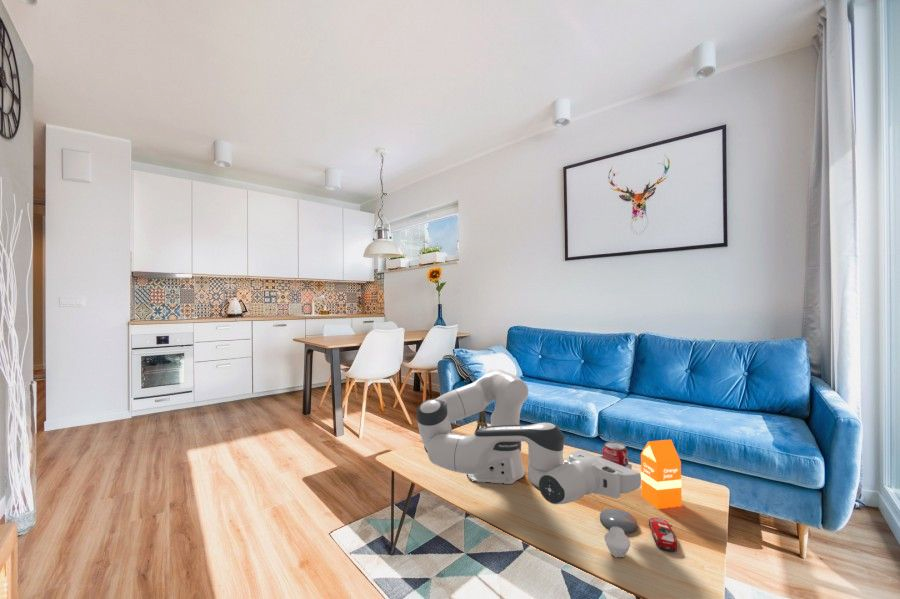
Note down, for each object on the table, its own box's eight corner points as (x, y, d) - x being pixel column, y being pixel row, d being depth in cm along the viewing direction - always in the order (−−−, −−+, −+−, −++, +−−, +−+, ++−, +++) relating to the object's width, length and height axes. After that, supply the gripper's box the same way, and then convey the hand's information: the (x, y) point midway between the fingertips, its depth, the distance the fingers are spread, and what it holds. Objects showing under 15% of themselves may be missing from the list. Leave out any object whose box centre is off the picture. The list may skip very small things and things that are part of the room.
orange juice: (682, 506, 118) (680, 443, 119) (657, 509, 117) (656, 445, 117) (664, 494, 126) (663, 435, 126) (641, 496, 125) (639, 437, 125)
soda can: (623, 480, 114) (622, 441, 114) (632, 491, 107) (632, 450, 107) (599, 479, 114) (599, 440, 114) (607, 490, 107) (606, 449, 107)
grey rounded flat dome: (609, 534, 105) (609, 529, 105) (594, 514, 115) (594, 509, 115) (644, 533, 105) (644, 527, 105) (626, 513, 115) (625, 508, 115)
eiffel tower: (466, 442, 176) (466, 389, 176) (482, 436, 183) (481, 386, 183) (482, 448, 168) (481, 393, 168) (498, 442, 175) (497, 390, 175)
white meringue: (605, 559, 95) (604, 531, 95) (604, 544, 100) (603, 518, 101) (631, 564, 92) (631, 536, 93) (629, 549, 98) (628, 523, 98)
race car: (647, 523, 110) (647, 509, 110) (668, 526, 109) (667, 512, 109) (655, 550, 98) (655, 535, 98) (679, 555, 96) (678, 539, 96)
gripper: (560, 471, 112) (589, 460, 119) (622, 501, 95) (652, 486, 102) (559, 450, 112) (588, 441, 119) (622, 476, 95) (651, 463, 102)
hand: (618, 462), depth 111 cm, fingers closed on soda can, 5 cm apart
